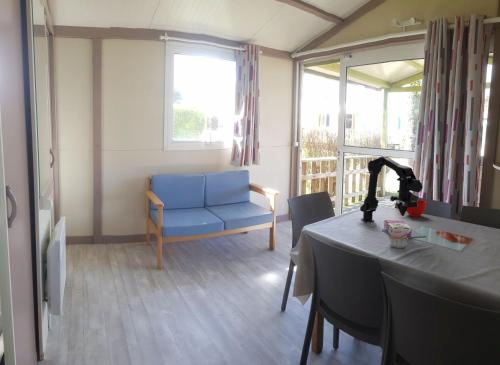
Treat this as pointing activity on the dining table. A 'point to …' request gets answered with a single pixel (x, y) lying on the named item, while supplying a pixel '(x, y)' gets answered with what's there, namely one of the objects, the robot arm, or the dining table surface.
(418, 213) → the ceramic cup
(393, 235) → the cupcake
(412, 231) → the mat
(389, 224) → the candy bar box
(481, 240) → the dining table surface
